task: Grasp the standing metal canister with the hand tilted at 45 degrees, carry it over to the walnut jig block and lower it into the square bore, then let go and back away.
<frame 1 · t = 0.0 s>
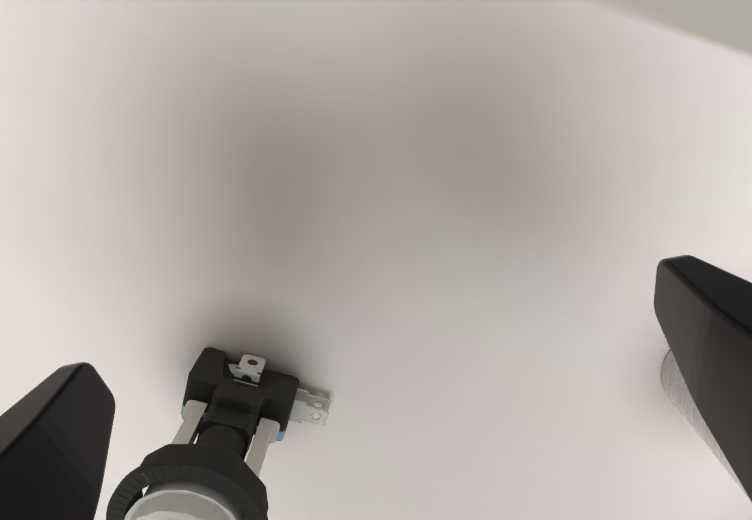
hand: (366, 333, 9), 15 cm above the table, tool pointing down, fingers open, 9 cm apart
push button: (263, 381, 28), on the table
metal canister: (711, 368, 27), on the table
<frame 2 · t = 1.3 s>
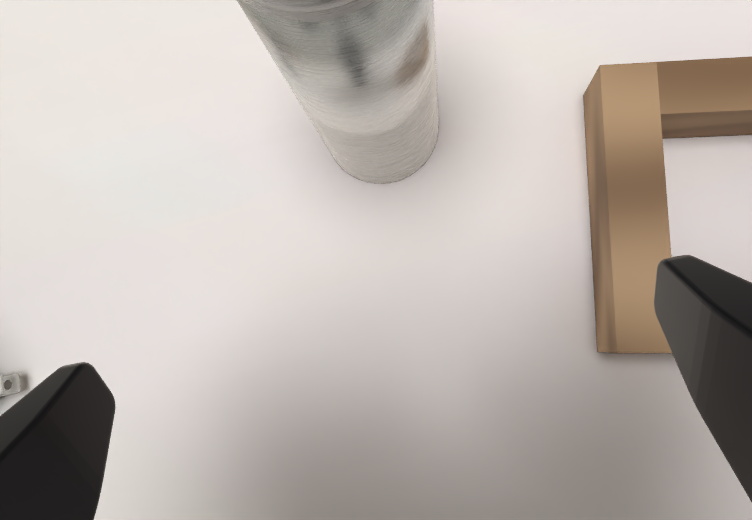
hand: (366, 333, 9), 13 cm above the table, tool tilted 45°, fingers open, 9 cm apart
metal canister: (382, 128, 24), on the table
jig: (729, 215, 21), on the table
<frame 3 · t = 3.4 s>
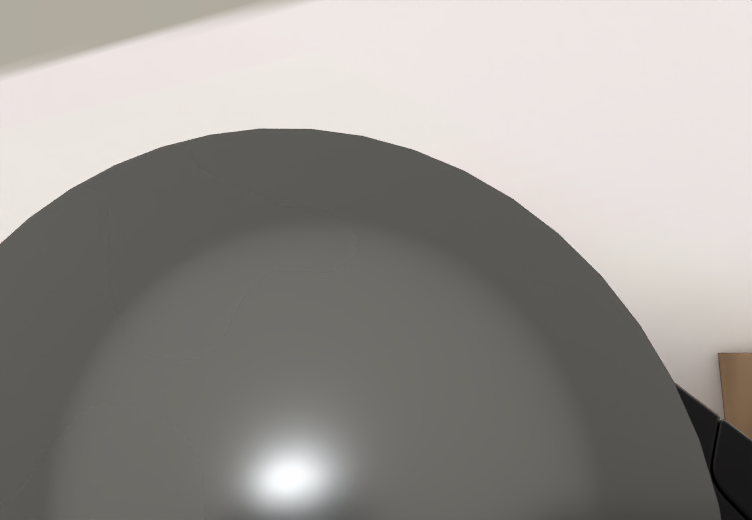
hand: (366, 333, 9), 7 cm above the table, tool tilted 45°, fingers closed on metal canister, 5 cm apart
metal canister: (410, 392, 16), on the table, touching gripper
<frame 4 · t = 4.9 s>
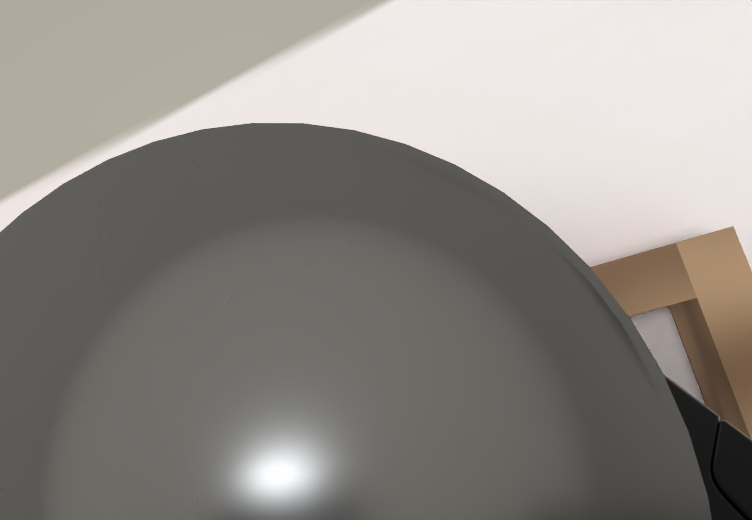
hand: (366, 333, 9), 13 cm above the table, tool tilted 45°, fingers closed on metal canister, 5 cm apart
metal canister: (409, 391, 16), point 6 cm above the table, touching gripper
jig: (614, 409, 21), on the table
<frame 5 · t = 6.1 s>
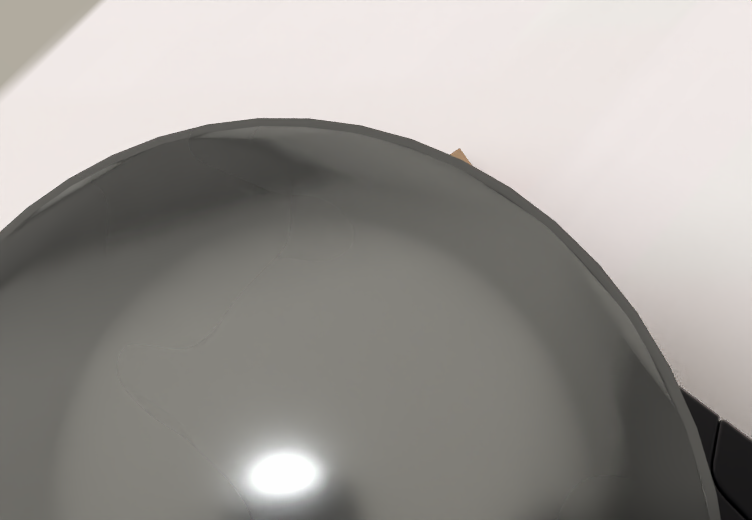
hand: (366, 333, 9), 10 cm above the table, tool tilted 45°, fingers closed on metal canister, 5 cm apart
metal canister: (410, 390, 16), point 3 cm above the table, touching gripper
when the fingers open (8 cm above the table, at t = 6.8 s): metal canister drops 1 cm, resting in jig.
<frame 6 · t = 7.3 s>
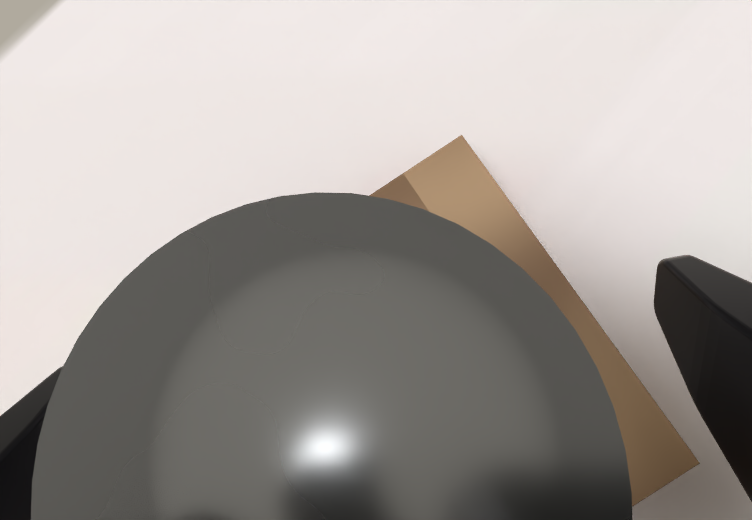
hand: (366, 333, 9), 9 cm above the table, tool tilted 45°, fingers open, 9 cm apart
metal canister: (414, 390, 17), resting in jig
jig: (413, 388, 17), on the table
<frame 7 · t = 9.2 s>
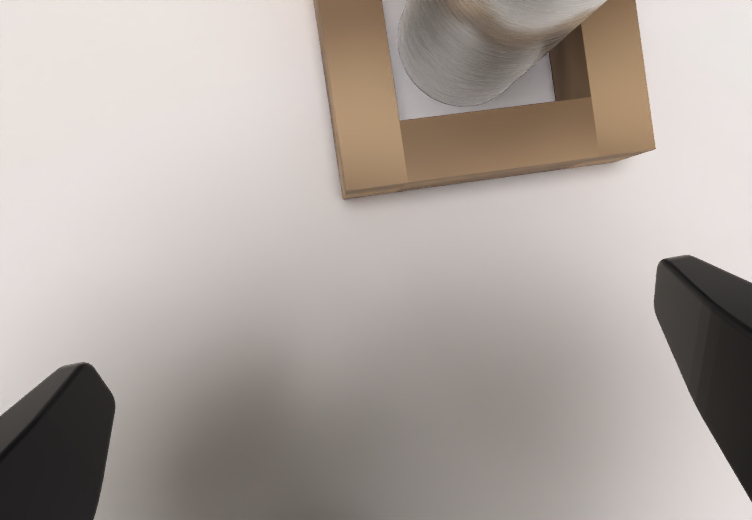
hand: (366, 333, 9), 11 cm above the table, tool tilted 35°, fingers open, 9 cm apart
metal canister: (462, 41, 20), resting in jig
jig: (462, 39, 20), on the table
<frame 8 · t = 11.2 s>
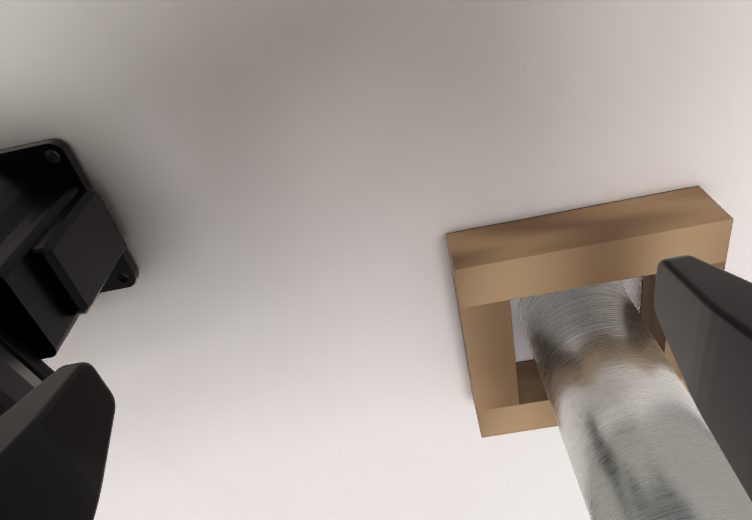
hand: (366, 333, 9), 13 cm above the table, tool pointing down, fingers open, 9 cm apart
metal canister: (570, 304, 26), resting in jig
jig: (571, 304, 26), on the table
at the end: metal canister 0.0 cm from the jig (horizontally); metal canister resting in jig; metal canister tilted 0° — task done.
